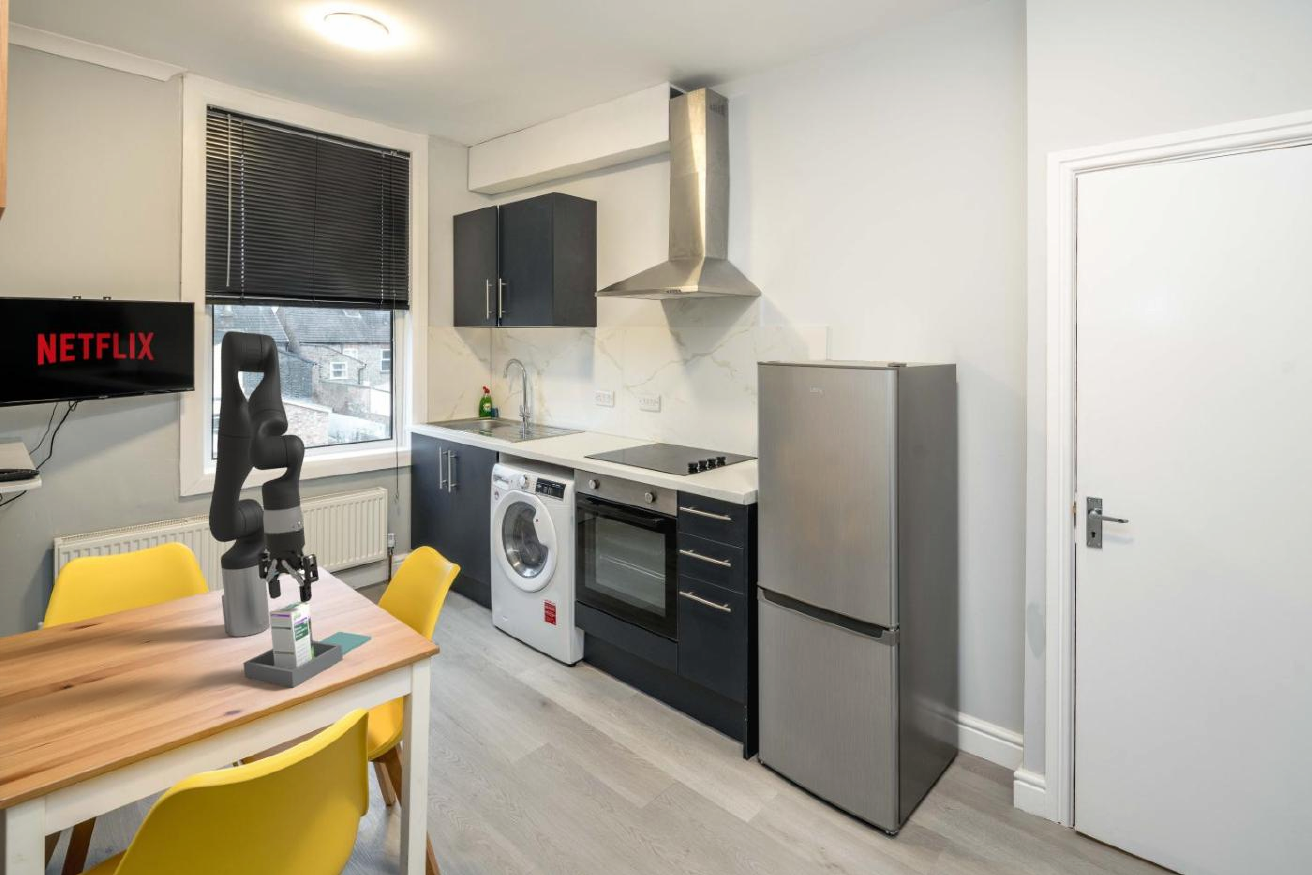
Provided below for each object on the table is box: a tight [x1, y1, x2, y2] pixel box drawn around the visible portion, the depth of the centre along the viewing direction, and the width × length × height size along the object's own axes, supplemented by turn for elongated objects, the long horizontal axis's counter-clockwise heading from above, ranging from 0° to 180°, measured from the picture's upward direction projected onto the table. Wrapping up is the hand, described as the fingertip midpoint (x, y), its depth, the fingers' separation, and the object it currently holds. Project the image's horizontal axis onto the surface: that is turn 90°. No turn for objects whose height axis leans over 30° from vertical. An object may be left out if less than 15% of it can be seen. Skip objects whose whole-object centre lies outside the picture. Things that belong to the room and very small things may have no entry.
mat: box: [319, 631, 372, 656], centre depth 164 cm, size 10×10×1 cm
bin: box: [243, 640, 343, 688], centre depth 152 cm, size 14×14×4 cm
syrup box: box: [269, 601, 315, 670], centre depth 151 cm, size 6×6×14 cm
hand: (290, 599), depth 150 cm, fingers open, 8 cm apart
